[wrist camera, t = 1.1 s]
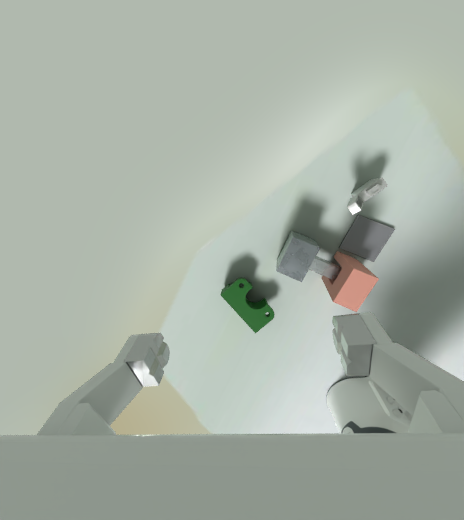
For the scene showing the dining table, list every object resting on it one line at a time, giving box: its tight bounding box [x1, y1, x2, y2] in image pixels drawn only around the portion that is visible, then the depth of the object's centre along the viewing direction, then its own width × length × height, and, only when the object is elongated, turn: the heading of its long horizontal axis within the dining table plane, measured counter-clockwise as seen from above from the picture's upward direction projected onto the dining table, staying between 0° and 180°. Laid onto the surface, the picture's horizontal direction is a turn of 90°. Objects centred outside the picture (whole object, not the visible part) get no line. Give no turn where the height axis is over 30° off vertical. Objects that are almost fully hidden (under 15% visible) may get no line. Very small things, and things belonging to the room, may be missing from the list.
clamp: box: [221, 278, 274, 333], centre depth 49 cm, size 12×6×9 cm, turn 37°
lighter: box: [347, 178, 387, 215], centre depth 38 cm, size 7×2×8 cm, turn 129°
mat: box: [339, 215, 395, 262], centre depth 43 cm, size 7×7×1 cm
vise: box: [276, 231, 342, 282], centre depth 43 cm, size 16×7×7 cm, turn 69°
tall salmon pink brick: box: [322, 251, 379, 312], centre depth 41 cm, size 4×6×11 cm, turn 159°
